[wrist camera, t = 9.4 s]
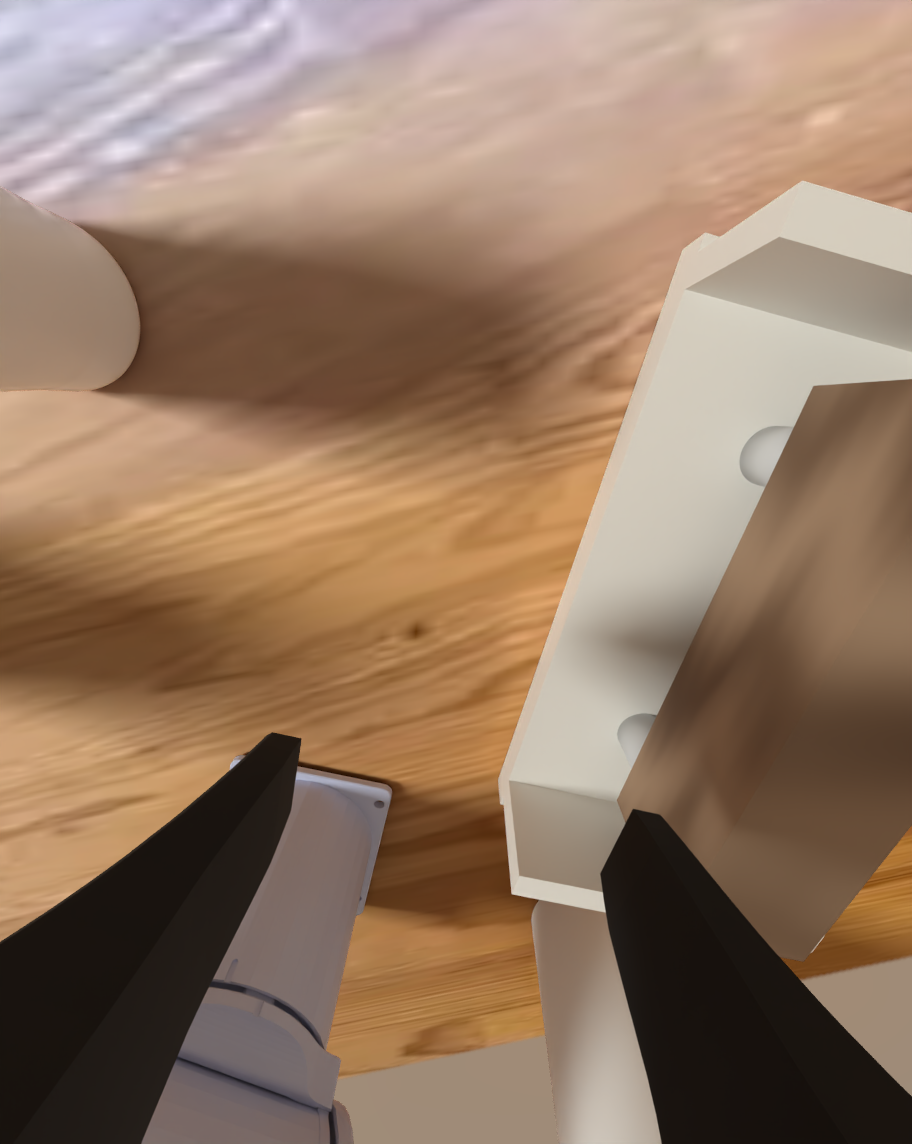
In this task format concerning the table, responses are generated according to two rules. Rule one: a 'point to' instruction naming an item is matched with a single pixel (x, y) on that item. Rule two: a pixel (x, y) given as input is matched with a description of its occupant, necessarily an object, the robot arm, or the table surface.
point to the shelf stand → (691, 500)
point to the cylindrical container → (589, 1031)
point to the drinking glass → (60, 304)
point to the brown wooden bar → (801, 679)
